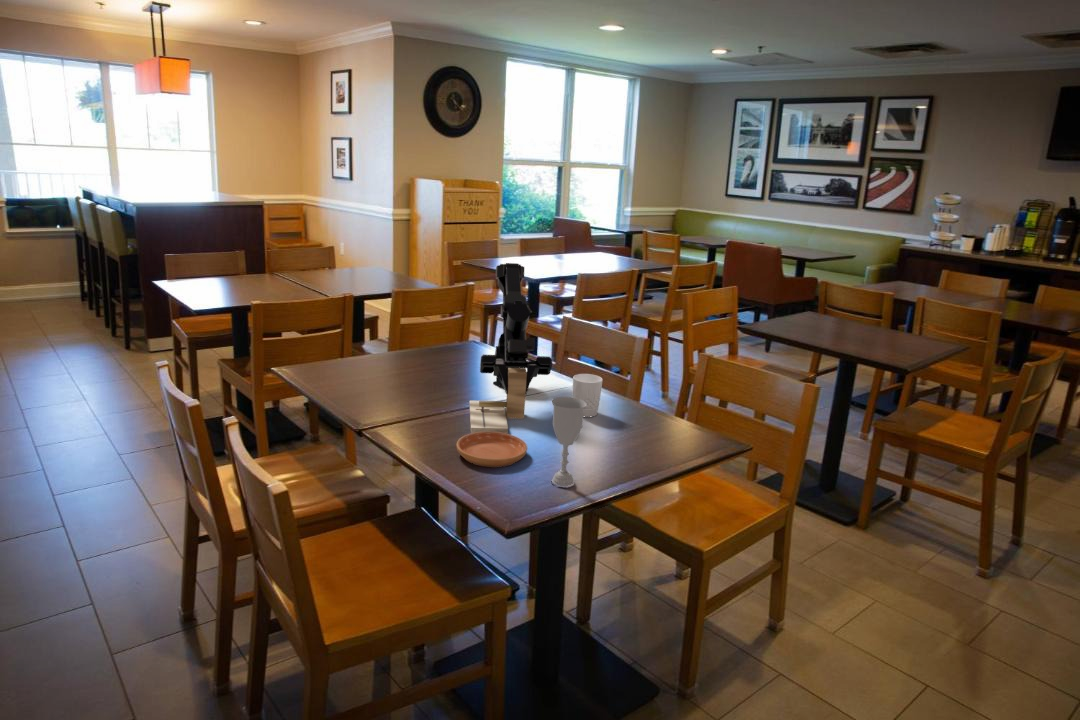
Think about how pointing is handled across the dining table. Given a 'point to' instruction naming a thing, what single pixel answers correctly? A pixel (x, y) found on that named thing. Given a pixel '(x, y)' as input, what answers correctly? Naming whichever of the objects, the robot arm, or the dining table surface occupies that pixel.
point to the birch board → (487, 418)
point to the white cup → (588, 392)
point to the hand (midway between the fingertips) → (516, 393)
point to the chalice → (566, 431)
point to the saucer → (491, 448)
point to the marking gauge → (512, 394)
